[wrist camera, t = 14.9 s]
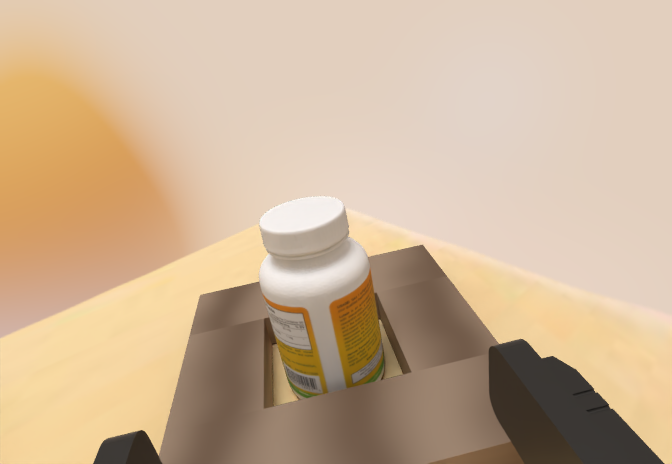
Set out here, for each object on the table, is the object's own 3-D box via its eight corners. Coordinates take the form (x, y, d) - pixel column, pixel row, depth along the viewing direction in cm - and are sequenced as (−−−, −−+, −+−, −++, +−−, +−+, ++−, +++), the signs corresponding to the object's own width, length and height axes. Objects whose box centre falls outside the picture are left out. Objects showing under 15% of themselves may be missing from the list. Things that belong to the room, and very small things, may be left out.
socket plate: (157, 570, 16) (137, 539, 15) (208, 318, 30) (200, 295, 29) (560, 462, 17) (563, 427, 16) (424, 268, 31) (422, 244, 31)
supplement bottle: (377, 332, 26) (353, 182, 22) (394, 401, 21) (368, 225, 17) (290, 348, 26) (249, 201, 22) (287, 420, 21) (234, 249, 17)
